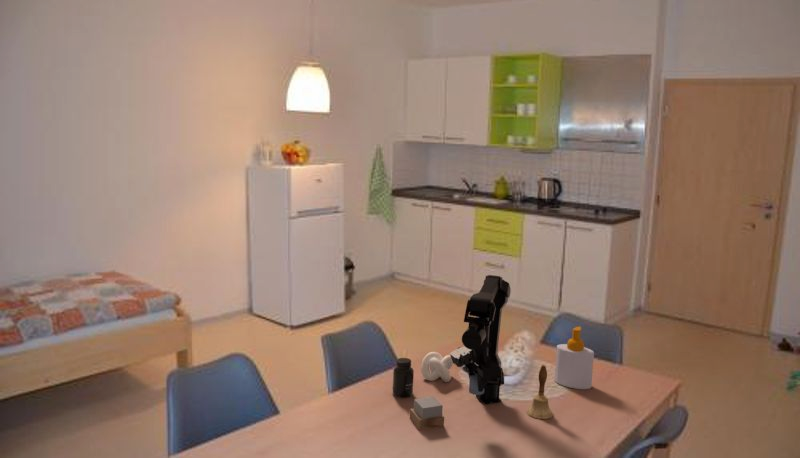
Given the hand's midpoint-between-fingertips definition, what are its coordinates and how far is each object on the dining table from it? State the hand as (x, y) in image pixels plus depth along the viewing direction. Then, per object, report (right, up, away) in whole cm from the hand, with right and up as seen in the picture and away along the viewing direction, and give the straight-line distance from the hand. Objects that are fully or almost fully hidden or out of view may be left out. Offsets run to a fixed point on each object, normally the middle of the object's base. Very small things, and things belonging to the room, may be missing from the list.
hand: (476, 388), depth 192 cm
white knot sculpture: (-10, -6, +37) cm, 39 cm away
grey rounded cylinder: (0, -1, 0) cm, 1 cm away
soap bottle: (+38, -8, +35) cm, 53 cm away
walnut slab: (-15, -12, +4) cm, 19 cm away
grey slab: (-15, -8, +3) cm, 17 cm away
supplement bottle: (-22, -8, +23) cm, 33 cm away
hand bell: (+22, -11, +12) cm, 27 cm away
